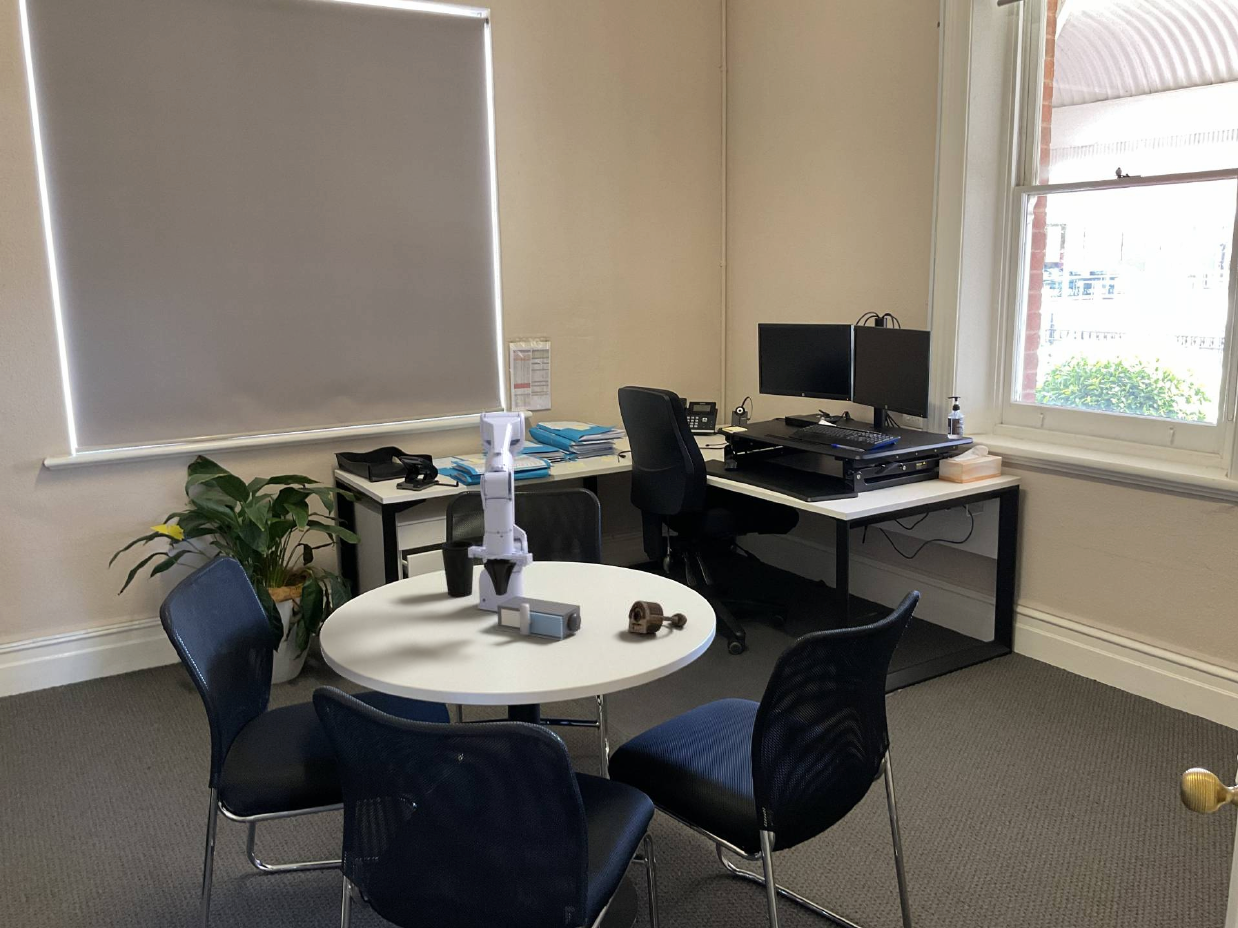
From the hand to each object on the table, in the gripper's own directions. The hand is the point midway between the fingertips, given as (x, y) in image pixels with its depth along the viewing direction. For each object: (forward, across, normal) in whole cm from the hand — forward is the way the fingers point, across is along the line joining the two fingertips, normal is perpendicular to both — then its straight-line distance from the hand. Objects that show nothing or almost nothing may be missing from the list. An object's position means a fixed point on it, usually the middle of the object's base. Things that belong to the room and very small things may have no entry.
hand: (501, 594), depth 204 cm
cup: (+9, -25, +19) cm, 33 cm away
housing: (+8, +5, +6) cm, 12 cm away
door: (+8, +9, +1) cm, 12 cm away
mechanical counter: (+9, +29, +15) cm, 34 cm away
